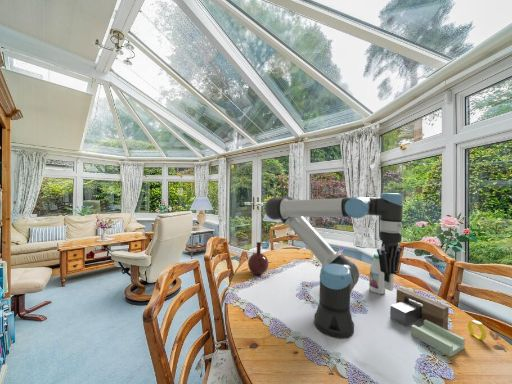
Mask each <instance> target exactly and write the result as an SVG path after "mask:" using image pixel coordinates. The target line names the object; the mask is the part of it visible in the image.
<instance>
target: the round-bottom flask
mask: <svg viewBox="0 0 512 384" xmlns="http://www.w3.org/2000/svg"><path fill="white" fill-rule="evenodd" d="M261 249H262V242H259V241H258V242H256V252H255V253H252V255H250V256H249V258H248V262H247V266H248V269H249V271H250V272H251V273H252V274H255V275H262V274H264V273H266V271H267V270H268V268H269V259H268V258H267V256H266V255H265V254H263V253H261V251H262V250H261Z"/></svg>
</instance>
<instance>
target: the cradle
mask: <svg viewBox="0 0 512 384" xmlns="http://www.w3.org/2000/svg"><path fill="white" fill-rule="evenodd" d="M410 329H411V331H410V333H411V336H413V337H414V338H417V339H418V340H420V341H421V342H423V343H425V344H427V345H428V346H430V347H432V348H434V349H435V350H436V351H438V352H441V353H442V354H444V355H446V356H448V357H450V358H451V357H453V356H454V355H456V354H458V353H459V352H461V351H462V350H464V349H465V345H466V342H465V341H466V338H465V337H462V336H461V335H459V334H457V333H454V332H452V331H450V330H448V329H447V330H446V329H444V328H442V327H440V326H438V325H436V324H434V323H432V322H430V321H428V320H424V322H423V325H421V326H417V325H415V324H411V328H410Z"/></svg>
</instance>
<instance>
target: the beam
mask: <svg viewBox="0 0 512 384" xmlns="http://www.w3.org/2000/svg"><path fill="white" fill-rule="evenodd" d="M408 299H411V300H414V301H416V302H418V303H421V304H423V305H422V320H421V322H422V323H424V320H428V321H430V322H432V323H434V324H436V325H438V326H440V327H442V328H444V329H446V330H448V328H449V306H447V305H445V304H443V303H440V302H439V301H435V300H432V299H429V298H428V297H426V296H423V295H420V294H418V293H416V292H413V291H411V290H409V289H405V288H403V287H400V288H396V301H395V304H396V303H399V302H402V301H405V300H408Z"/></svg>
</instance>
